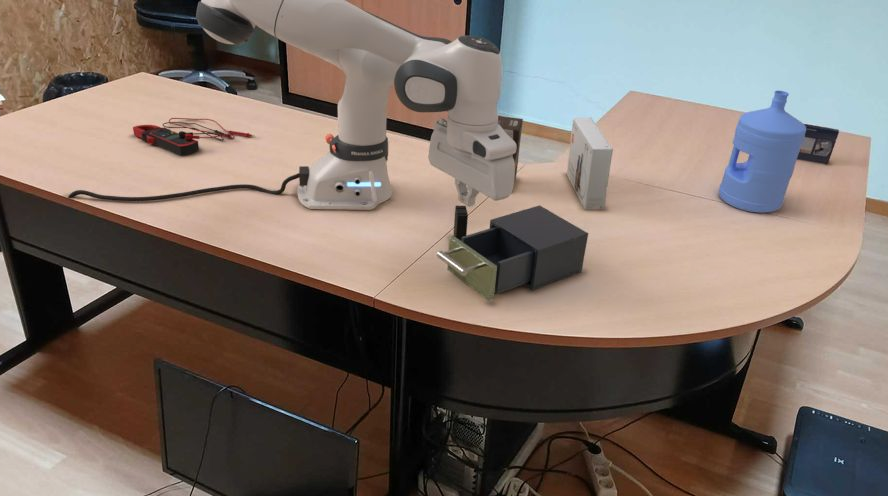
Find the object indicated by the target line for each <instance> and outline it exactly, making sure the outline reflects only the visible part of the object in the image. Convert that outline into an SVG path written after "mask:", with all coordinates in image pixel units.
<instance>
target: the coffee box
mask: <svg viewBox="0 0 888 496" xmlns="http://www.w3.org/2000/svg"><path fill="white" fill-rule="evenodd" d="M523 122H524V120H523V118H519V117H511V116H510V117H509V116H508V117H507V116H499V115H498V124H499V125H500V126H501V127H502V129H503V130H504V131H505V132H506V134H507V135H508V136H509V137H510V138H511V139H512V140H514V141H515V143H516V145H517V149H516V153H515V154H512V155H511V156H512V157H513V159H514V163H515V176H514V184H515V182H516V180H517V174H518V166H519V156H520V155H519V154H520V147H521V138H522V131H523V130H522V129H523Z"/></svg>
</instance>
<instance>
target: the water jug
mask: <svg viewBox="0 0 888 496" xmlns="http://www.w3.org/2000/svg"><path fill="white" fill-rule="evenodd" d="M789 95H790V93H789V92H787V91H784V90H775V91H774V95H773V98H772V100H771V104H770V106H769V107H767V108H761V109H757V110H751V111H746V112H744V113H742V114H741V115H740V116H739V118H738V122H737V124H736V127H735V130H734V136H733V139H732V145H733V146H732V150H731V154H730V157H729V160H728V165H727V166H726V167H725V169H724V172H723V176H722V179H721V183H720V184H719V188H718V195H719V198H720V199H721V200H722V201H724V203H726V204H727V205H729V206H731V207H734V208H735V209H738V210H742V211H745V212H751V213H757V214H759V213H760V214H768V213H773V212H776V211H778V210H780V209H781V207H783V204H784V202H785V196H786V193H787V190H788V188H789V184H790V181H791V178H792V177H793V174H794V171H795V166H796V163H797V160H798V159H797V157H798V154H799V151H800V148H801V146H802V144H803V141H804V137H805V133H806V126H805V125H804V124H805V123H803V121H800V120H799V119H798V118H796V117H795V116H793V115H792V114H790V113H789V112H787V111H786V110H785V107H786V104H787V102H788V97H789ZM740 152H742V153H744V154H747V155H748V157H747V160H746V161H744V162H738V159H739V155H740Z"/></svg>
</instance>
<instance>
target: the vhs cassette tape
mask: <svg viewBox="0 0 888 496" xmlns="http://www.w3.org/2000/svg"><path fill="white" fill-rule="evenodd" d="M803 124H804V125H805V126H806V133H805V137H804V141H803V144H802V146H801V148H800V151H799V154H798V157H797V160H800V161H805V162H811V163H816V164H822V165H828V164H829V162H830V160H831V156H832V155H833V151H834V148H835V145H836V144H837V143H836V142H837V140H838V137H839V133H840V130H839V129H838V128H832V127H828V126H827V127H826V126H819V125H814V124H808V123H803Z"/></svg>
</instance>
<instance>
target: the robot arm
mask: <svg viewBox="0 0 888 496" xmlns="http://www.w3.org/2000/svg"><path fill="white" fill-rule="evenodd" d="M195 12H196V13H195V19H196V21H197V23H198V25H199V26H200V27H201V28H202V29H203V31H204V32H205V33H206V34H207V35H208V36H209V37H211V38H212V39H214V40H216V41H217V42H219V43H223V44H227V45H236V46H241V45H243V44H245V43H247V42H248V41H249V40H250V39H251V37H252V36H253V35H254V33H256V32H255V27H258V28H260V29H261V30H262V31H264V32H266V33H267V34H269V35H271V36H272V37H274V38H276V39H277V40H279V41H281V42H284V43H285V44H288V45H290V46H292V47H294V48H297V49H300V50H301V51H302V52H303V51H304V53H307V54H310V55H312V56H314V57H317V58H319V59H321V60H323V61H325V62H327V63H329V64H331V65H333V66H335V67H336V68H338V69H339V70H341V71H342V72H343V73H344V75H345V82H344V83H345V84H344V90H343V92H342V96H341V98H340V99H339V100H338V103H337V134H336V136H334V134H332V133H327V134H326V135H325V137H324V139H325V142H326V143H327V145H329V151H328V152H327V153H325V154H324V155H322V156H321V157H320V158H318V159H317V160H316V161H315V162H313V163H312V164H311V165H309V166H307V165H306V166H305V165H304V166H299V168H298V169H299V170H298V173H296V174H293V175H290V176H289V177H286V178H285V179H284V180H283V181H282V183H281V185H280V189H277V190H270V189H267V188H263V187H261V186H259V185H254V184H245V183H244V184H230V185H222V186H214V187H207V188H201V189H196V190H190V191H184V192H183V191H182V192H177V193H168V194H162V195H151V196H120V195H119V196H116V195H105V194H100V193H95V192H91V191H88V190H83V189H78V190H77V189H76V190H74V191H72V192H71V193H70V194H68V196H67V199H73V198H75V197H76V196H80V195H83V196H87V197H91V198H94V199H97V200H104V201H115V202H116V201H117V202H154V201H161V200H163V201H164V200H170V199H178V198H184V197H185V198H186V197H191V196H196V195H202V194H208V193H214V192H222V191H229V190H241V189H243V190H246V189H247V190H249V189H250V190H255V191H258V192H261V193H265V194H269V195H274V196H275V195H277V196H278V195H282V194H283V193H284V192H285V191H286V188H287V184H289V183H290V182H291V181H294V180H297V179H299V184H298V186H297V188H296V189H297V192H296V193H297V198H298V201H299V202H300V204H301V205H302V206H304V208H307V209H310V210H353V211H354V210H358V211H360V210H361V211H364V210H365V211H370V210H373V209H375V208H376V207H378V205H380V204H382V203H384V202H387V200H390V198H391V197H392V196H393V190H392V187H391V183H390V182H391V181H390V177H389V170H388V160H389V159H388V158H389V138H388V136H387V119H388V118H387V117H388V116H387V115H388V113H387V112H388V103H389V98H390V94H391V91H392V87H393V86H394V87H393V88H394V91H395V94H396V97H397V98H398V100H399V101H400V103H401V104H402V105H403V106H404V107H405V108H407V109H408V110H410V111H413V112H416V113H443V112H444V113H445V112H447V119H445V118H441V117H440V118H438V119H437V120H436V121H435V122H434V124H433V131H432V134H431V137H430V141H429V147H428V157H427V159H428V161H429V164H430V166H432V167H434V168H435V169H437V170H439V171H441V172H443V173H444V174H446V175H448V176H450V177H451V178H453V179H454V185H455V188H456V191H457V201H458V202H459V203H461V204H462V205H464V206H466V207H469V208H470V207H474V206H475V203H476V197H477V196H478V195H479V193H480V194H482V195H484V196H486V197H487V198H489V199H491V200H493V201H496V202H497V201H501V200H505V199H507V198H509V197H510V196H511V195H512V194H513V191H514V186H515V183H514V176H515V163H514V159H513V157H512V156H511V155H512V154H515V153H516V149H517V145H516V143H515V141H514V140H512V139H511V138H510V137H509V136H508V135H507V134H506V132H505V131H504V130H503V129H502V127H501V126H500V125H499V124H498V117H499V111H498V102H499V100H500V97H501V93H502V79H503V61H502V60H503V59H502V54H501V51H500V49H499V47H498V46H497V45H496V44H495V43H493V42H492V41H491V40H489V39H486V38H484V37H481V36H477V35H460V36H459V37H457V38H456V39H455V40H452V41H451V40H449V39H447V38H443V37H437V36H436V37H434V36H423V35H419V34H417V33H415V32H412V31H410V30H408V29H406V28H403V27H402V26H399V25H397V24H395V23H392V21H391V22H390V21H388V20H386V19H384V18H382V17H380V16H377V15H376V14H373V13H371V12H369V11H367V10H364V9H362V8H360V7H358V6H357V5H354V4H353V3H351V2H349V1H347V0H200V1H198V3H197V7H196V11H195Z"/></svg>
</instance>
